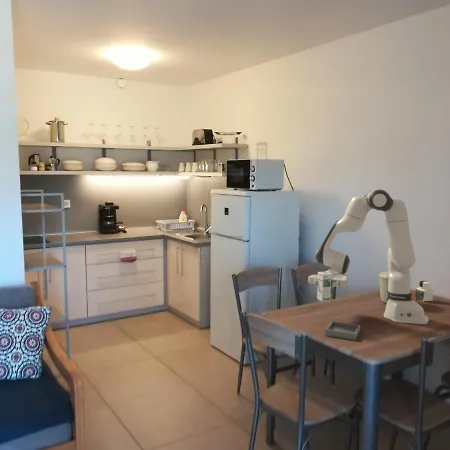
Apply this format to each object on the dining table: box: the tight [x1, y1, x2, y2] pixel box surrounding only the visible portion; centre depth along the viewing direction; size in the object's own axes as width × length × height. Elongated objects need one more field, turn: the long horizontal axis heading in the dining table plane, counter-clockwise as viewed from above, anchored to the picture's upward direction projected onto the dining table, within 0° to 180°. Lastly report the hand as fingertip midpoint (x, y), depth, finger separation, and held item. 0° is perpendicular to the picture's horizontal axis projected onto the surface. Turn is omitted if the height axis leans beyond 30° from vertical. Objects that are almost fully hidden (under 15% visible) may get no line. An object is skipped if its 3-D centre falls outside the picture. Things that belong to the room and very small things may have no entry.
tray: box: [324, 320, 361, 341], centre depth 224 cm, size 14×14×3 cm
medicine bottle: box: [414, 280, 434, 303], centre depth 285 cm, size 7×7×12 cm
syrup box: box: [316, 270, 333, 302], centre depth 238 cm, size 6×6×14 cm
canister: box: [377, 271, 389, 304], centre depth 279 cm, size 18×18×21 cm
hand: (324, 283), depth 237 cm, fingers closed on syrup box, 8 cm apart
